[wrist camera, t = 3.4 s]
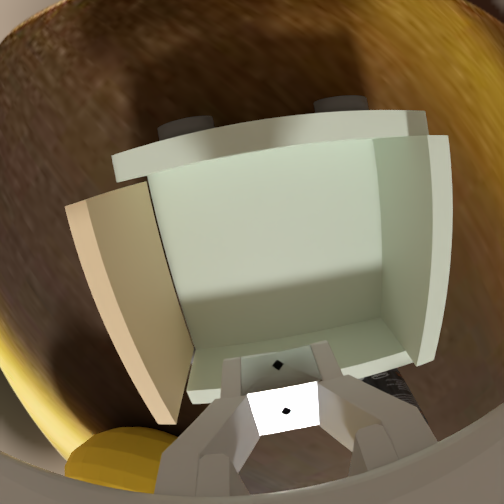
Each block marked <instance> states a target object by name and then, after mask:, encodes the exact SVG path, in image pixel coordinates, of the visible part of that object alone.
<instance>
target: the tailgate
mask: <svg viewBox="0 0 504 504" xmlns="http://www.w3.org/2000/svg"><path fill="white" fill-rule="evenodd" d="M65 210H66V214H67V218H68V221H69V225H70V229H71V232H72V236H73V239H74V243H75V246H76V249H77V252H78V256H79V259H80V262H81V265H82V268H83V271H84V273H85V276H86V279H87V282H88V285H89V287H90V290H91V293H92V295H93V298H94V300H95V303H96V305H97V308H98V310H99V313H100V315H101V317H102V320H103V322H104V324H105V327H106V329H107V331H108V333H109V335H110V338H111V340H112V342H113V344H114V346H115V348H116V350H117V352H118V354H119V356H120V358H121V360H122V362H123V364H124V366H125V368H126V370H127V372H128V374H129V376H130V377H131V379H132V381H133V383H134V385H135V386H136V388H137V390H138V392H139V394H140V395H141V397H142V399H143V400H144V402H145V404H146V405H147V407H148V409H149V410H150V412H151V414H152V415H153V417H154V418H155V420H156V421H157V423H158V424H177V419H178V415H179V410H180V406H181V401H182V397H183V393H184V388H185V384H186V380H187V376H188V371H189V367H190V363H191V359H192V355H193V351H194V348H193V345H192V342H191V339H190V336H189V333H188V330H187V328H186V325H185V322H184V318H183V315H182V312H181V309H180V306H179V303H178V300H177V297H176V293H175V290H174V287H173V283H172V280H171V277H170V273H169V270H168V266H167V263H166V259H165V256H164V252H163V248H162V244H161V241H160V237H159V233H158V229H157V225H156V221H155V217H154V213H153V208H152V204H151V200H150V195H149V191H148V186H147V182H146V181H145V182H142V183H138V184H134V185H131V186H127V187H124V188H120V189H117V190H114V191H110V192H107V193H104V194H101V195H98V196H95V197H92V198H89V199H86V200H83V201H80V202H77V203H74V204H71V205H68V206H65Z"/></svg>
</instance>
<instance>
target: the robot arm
mask: <svg viewBox="0 0 504 504" xmlns="http://www.w3.org/2000/svg"><path fill="white" fill-rule="evenodd" d="M314 425H319V426H320V427H322V428H323V429H324V430H325V431H327V432H328V433H329V434H330V435H331V436H333V437H334V438H335V439H336V440H338V441H339V442H340V443H341V444H343V445H344V446H345V447H347V448H348V449H349V450H350V451H352V452H353V453H352V459H351V464H350V469H349V475H348V477H347V478H343V479H339V480H335V481H331V482H327V483H323V484H319V485H314V486H309V487H304V488H298V489H293V490H287V491H280V492H272V493H264V494H254V495H250V494H249V492H248V490H247V488H246V487H245V485H244V483H243V482H242V480H241V478H240V476H239V474H238V472H239V471H240V469H241V468H242V466H243V464H244V463H245V461H246V460H247V458H248V456H249V455H250V453H251V451H252V450H253V448H254V446H255V445H256V443H257V441H258V440H259V438H260V435H264V434H270V433H276V432H281V431H286V430H289V429H290V430H291V429H297V428H303V427H309V426H314ZM0 504H504V403H502V404H501V405H500V406H498V407H497V408H495V409H494V410H492V411H491V412H489V413H488V414H486V415H485V416H483V417H482V418H480V419H479V420H477V421H475V422H474V423H472V424H470V425H469V426H467V427H465V428H464V429H462V430H460V431H458V432H457V433H455V434H453V435H451V436H449V437H448V438H446V439H444V440H442V441H440V442H437V440H436V438H435V436H434V435H433V433H432V431H431V430H430V428H429V426H428V425H427V423H426V421H425V420H424V418H423V416H422V415H421V413H420V411H419V410H418V408H417V407H416V406H413V405H411V404H409V403H407V402H405V401H402V400H400V399H398V398H396V397H394V396H392V395H390V394H387V393H385V392H383V391H381V390H379V389H377V388H375V387H373V386H371V385H369V384H367V383H365V382H363V381H361V380H359V379H357V378H355V377H353V376H351V375H349V374H348V375H344V376H343V374H342V371H341V369H340V367H339V365H338V362H337V360H336V358H335V356H334V354H333V351H332V349H331V347H330V345H329V343H328V341H326V340H324V341H320V342H316V343H312V344H309V345H306V346H301V347H297V348H292V349H287V350H282V351H277V352H269V353H263V354H256V355H249V356H242V357H235V358H228V359H224V361H223V365H222V379H221V394H220V398H219V399H214V401H213V402H212V403H211V404H210V405H209V406H208V407H207V408H206V409H205V410H204V411H203V412H202V413H201V414H200V415H199V417H198V418H197V419H196V420H195V421H194V422H193V423H192V424H191V425H190V426H189V427H188V428H187V429H186V430H185V431H184V432H183V433H182V434H181V435H180V436H179V437H178V438H177V439H176V440H175V441H174V442H173V443H172V444H171V445H170V446H169V447H168V448H167V449H166V450H165V451H164V452H163V453H162V456H161V461H160V465H159V470H158V475H157V480H156V485H155V491H154V494H150V493H141V492H134V491H128V490H122V489H116V488H111V487H106V486H101V485H97V484H92V483H88V482H84V481H80V480H77V479H73V478H70V477H66V476H63V475H60V474H56V473H54V472H51V471H48V470H45V469H42V468H39V467H37V466H34V465H31V464H29V463H26V462H24V461H22V460H19V459H17V458H15V457H12V456H10V455H8V454H6V453H4V452H2V451H0Z"/></svg>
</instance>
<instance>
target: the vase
mask: <svg viewBox="0 0 504 504" xmlns="http://www.w3.org/2000/svg"><path fill="white" fill-rule="evenodd" d="M177 438H178V437H177V436H175V435H172V434H169V433H167V432H164V431H160V430H156V429H152V428H146V427H119V428H115V429H110V430H107V431H104V432H101V433H98V434H95V435H94V436H92V437H91V438H90V439H88V440H87V441H86V442H85V443H83V444H82V445H81V446H79V447H78V448H77V449H75V450H74V451H73V452H72V453H71V455H70V457H69V459H68V461H67V463H66V465H65V476H66V477H70V478H73V479H77V480H80V481H84V482H88V483H92V484H97V485H101V486H106V487H111V488H116V489H122V490H128V491H134V492H141V493H150V494H154V491H155V485H156V480H157V475H158V470H159V465H160V461H161V456H162V453H163V452H164V451H165V450H166V449H167V448H168V447H169V446H170V445H171V444H172V443H173V442H174V441H175V440H176V439H177Z"/></svg>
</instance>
